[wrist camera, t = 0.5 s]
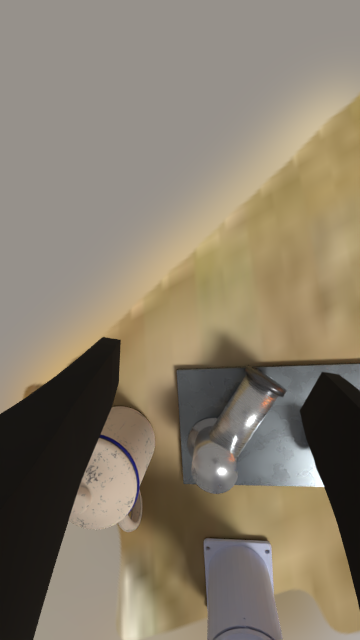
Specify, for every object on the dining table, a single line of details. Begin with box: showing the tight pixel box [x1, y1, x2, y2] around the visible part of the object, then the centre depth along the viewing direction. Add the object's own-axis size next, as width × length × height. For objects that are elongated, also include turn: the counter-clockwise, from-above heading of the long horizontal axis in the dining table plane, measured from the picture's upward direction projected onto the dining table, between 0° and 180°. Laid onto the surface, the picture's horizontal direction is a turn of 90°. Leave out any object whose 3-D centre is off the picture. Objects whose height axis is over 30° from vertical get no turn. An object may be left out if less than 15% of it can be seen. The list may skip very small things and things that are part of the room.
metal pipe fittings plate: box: [177, 363, 360, 487], centre depth 28 cm, size 25×14×6 cm, turn 94°
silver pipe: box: [191, 365, 287, 494], centre depth 29 cm, size 13×5×5 cm, turn 149°
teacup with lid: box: [68, 406, 155, 532], centre depth 28 cm, size 12×9×12 cm
